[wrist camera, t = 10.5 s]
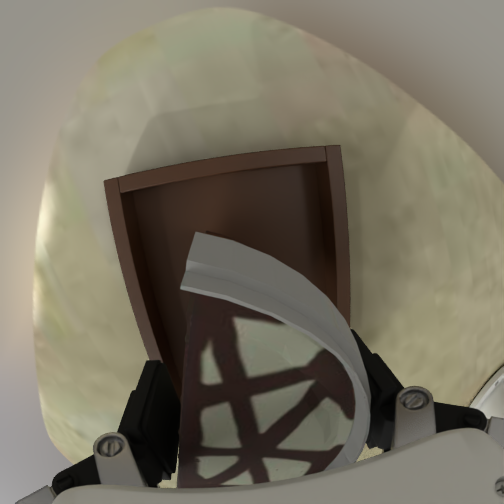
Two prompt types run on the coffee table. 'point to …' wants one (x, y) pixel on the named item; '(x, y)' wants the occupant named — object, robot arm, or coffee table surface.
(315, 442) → the lattice half-cylinder
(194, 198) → the tray
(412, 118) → the coffee table surface
